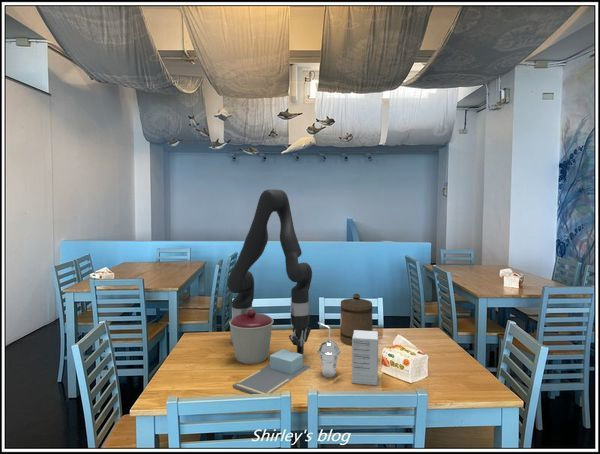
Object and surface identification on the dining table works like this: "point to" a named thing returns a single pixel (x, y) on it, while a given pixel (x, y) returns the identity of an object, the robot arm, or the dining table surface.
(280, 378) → the display board
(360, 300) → the wooden container
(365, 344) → the supplement box
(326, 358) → the cup with straw
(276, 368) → the carton
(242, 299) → the robot arm
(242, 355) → the canister
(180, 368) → the dining table surface
